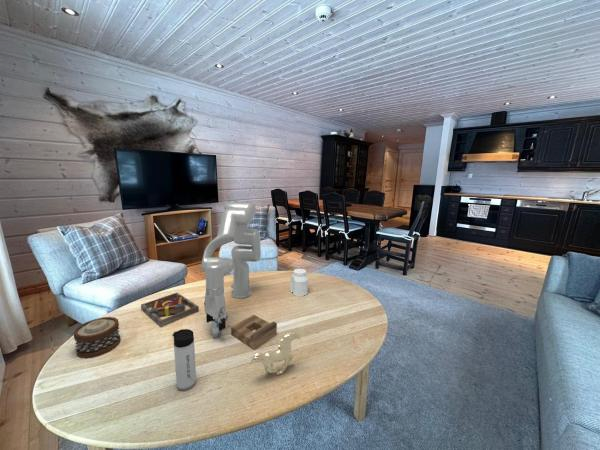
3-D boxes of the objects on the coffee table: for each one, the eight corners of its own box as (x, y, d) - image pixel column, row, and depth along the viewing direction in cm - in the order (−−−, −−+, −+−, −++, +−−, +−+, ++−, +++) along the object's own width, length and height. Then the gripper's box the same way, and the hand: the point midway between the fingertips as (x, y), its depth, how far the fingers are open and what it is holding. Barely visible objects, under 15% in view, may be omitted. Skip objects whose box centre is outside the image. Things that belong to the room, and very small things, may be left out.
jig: (231, 334, 113) (230, 323, 112) (253, 321, 124) (253, 310, 123) (253, 350, 104) (253, 337, 103) (276, 334, 115) (276, 323, 114)
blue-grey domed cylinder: (210, 336, 112) (209, 320, 110) (218, 332, 115) (217, 317, 113) (215, 340, 109) (214, 324, 108) (223, 335, 112) (222, 320, 111)
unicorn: (252, 387, 85) (251, 344, 82) (248, 379, 89) (248, 337, 86) (301, 368, 95) (303, 328, 92) (296, 361, 98) (298, 323, 95)
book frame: (141, 309, 132) (140, 304, 131) (177, 297, 147) (177, 292, 146) (160, 327, 117) (160, 321, 116) (198, 311, 132) (198, 306, 131)
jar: (309, 295, 155) (310, 273, 152) (295, 297, 151) (296, 275, 148) (301, 287, 165) (302, 267, 162) (288, 290, 161) (289, 268, 158)
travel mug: (180, 376, 89) (176, 327, 85) (198, 376, 89) (196, 327, 86) (172, 391, 83) (168, 339, 79) (192, 390, 83) (189, 338, 79)
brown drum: (113, 329, 97) (64, 338, 91) (116, 353, 99) (68, 363, 93) (123, 311, 110) (81, 317, 104) (125, 332, 112) (84, 339, 106)
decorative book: (154, 308, 134) (153, 300, 133) (186, 302, 140) (185, 294, 139) (150, 319, 124) (149, 310, 123) (185, 313, 130) (184, 304, 129)
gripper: (196, 287, 110) (198, 321, 113) (218, 299, 99) (219, 336, 102) (211, 282, 116) (212, 315, 119) (234, 293, 105) (234, 329, 108)
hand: (215, 325), depth 110 cm, fingers open, 9 cm apart
